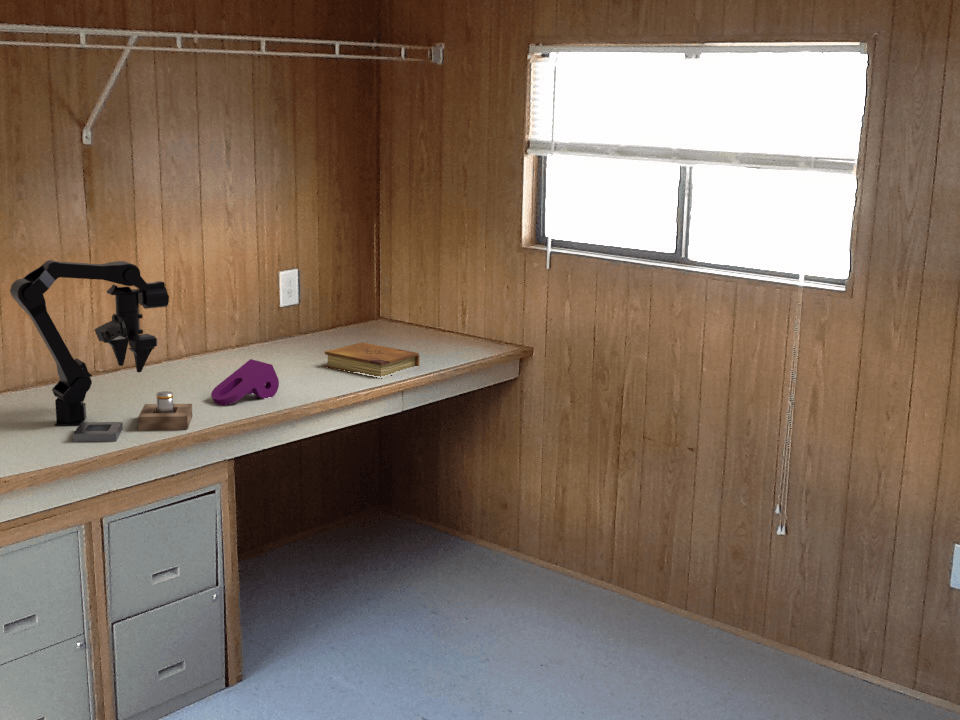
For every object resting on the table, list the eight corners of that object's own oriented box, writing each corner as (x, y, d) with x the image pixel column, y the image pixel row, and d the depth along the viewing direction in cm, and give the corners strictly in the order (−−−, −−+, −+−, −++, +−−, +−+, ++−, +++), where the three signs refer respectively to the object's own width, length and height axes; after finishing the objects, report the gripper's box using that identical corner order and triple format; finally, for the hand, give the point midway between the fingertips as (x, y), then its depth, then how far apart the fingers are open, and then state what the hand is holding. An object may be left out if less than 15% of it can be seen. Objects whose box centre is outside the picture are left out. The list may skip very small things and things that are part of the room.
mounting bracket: (237, 426, 312) (282, 388, 322) (225, 402, 307) (272, 364, 317) (215, 419, 318) (261, 382, 328) (204, 395, 313) (250, 358, 323)
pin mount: (73, 441, 275) (73, 434, 274) (81, 429, 284) (81, 422, 284) (116, 441, 276) (115, 433, 276) (122, 429, 286) (122, 421, 285)
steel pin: (156, 425, 290) (155, 395, 288) (158, 421, 294) (157, 391, 292) (173, 425, 290) (171, 395, 289) (174, 420, 294) (173, 391, 292)
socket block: (138, 430, 285) (138, 416, 285) (145, 417, 297) (144, 404, 296) (187, 429, 287) (187, 416, 286) (192, 416, 299) (191, 403, 298)
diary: (419, 370, 358) (419, 352, 357) (381, 381, 343) (381, 362, 342) (363, 358, 371) (363, 341, 370) (324, 368, 356) (324, 350, 355)
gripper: (80, 308, 294) (83, 367, 298) (117, 319, 282) (120, 380, 286) (119, 303, 302) (122, 360, 306) (157, 314, 290) (159, 373, 293)
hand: (130, 368), depth 297 cm, fingers open, 9 cm apart
